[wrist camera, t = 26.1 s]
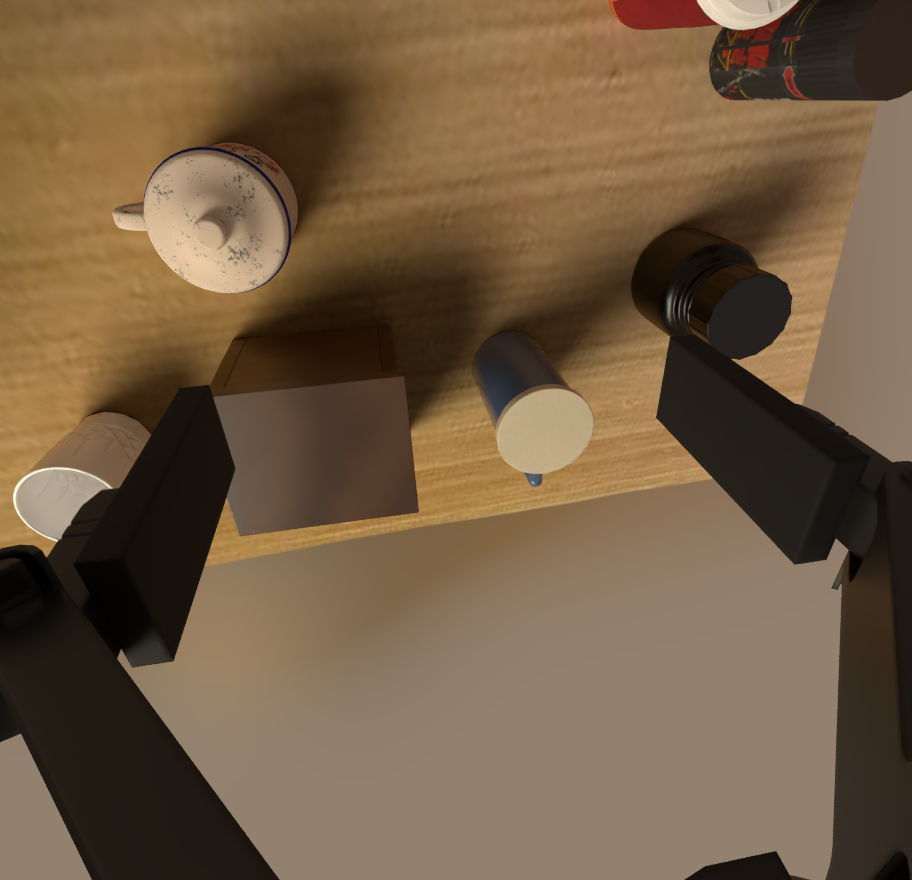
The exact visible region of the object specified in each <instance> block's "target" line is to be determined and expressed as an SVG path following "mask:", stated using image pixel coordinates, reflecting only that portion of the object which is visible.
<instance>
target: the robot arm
mask: <svg viewBox="0 0 912 880" xmlns="http://www.w3.org/2000/svg"><path fill="white" fill-rule="evenodd" d="M656 418H657V419H658V420H659V421H660V422H661V423H662V424H663V425H664V426H665V428H666V429H667V430H668V431H669V432H670V433H671V434H672V435H673V436H674V437H675V438H676V439H677V440H678V441H679V442H680V443H681V445H682V446H683V447H684V448H685V449H686V450H687V451H688V452H689V453H690V454H691V455H692V456H693V457H694V458H695V459H696V460H697V462H698V463H699V464H700V465H701V466H702V467H703V468H704V469H705V470H706V471H707V472H708V473H709V474H710V475H711V476H712V477H713V479H714V480H715V481H716V482H717V483H718V484H719V485H720V486H721V487H722V488H723V489H724V490H725V491H726V492H727V493H728V494H729V496H730V497H731V498H732V499H734V501H735V502H736V503H737V504H738V505H739V506H740V507H741V508H742V509H743V510H744V511H745V513H747V515H748V516H749V517H750V518H751V519H752V520H753V521H754V522H755V523H756V524H757V525H758V526H759V527H760V528H761V530H762V531H763V532H764V533H765V534H766V535H767V536H768V537H769V538H770V539H771V540H772V541H773V542H774V543H775V544H776V545H777V547H778V548H779V549H780V550H781V551H782V552H783V553H784V554H785V555H786V556H787V557H788V558H789V559H790V560H791V561H792V562H793V563H794V564H802V563H809V562H814V561H821V560H826V559H827V557H828V555H829V553H830V550H831V548H832V545H833V543H834V541H835V539H837V540H839V541H840V542H841V543H842V544H843V545H844V546H845V547H846V548H847V549H848V550H849V551H848V553H847V555H846V557H845V560H844V562H843V564H842V566H841V568H840V570H839V573H838V575H837V577H836V579H835V582H834V584H833V586H832V588H833V589H836V590H838V588H839V586H840V584H842V598H841V600H842V601H841V627H840V655H839V683H838V711H837V739H836V767H835V795H834V824H833V848H832V857H831V863H830V867H829V870H828V873H827V876H826V880H912V462H910V461H901V462H894V463H893V462H891V461H890V460H888V459H887V458H885V457H884V456H882V455H881V454H879V453H878V452H877V451H875V450H873V449H872V448H871V447H869V446H868V445H866V444H865V443H863V442H862V441H860V440H859V439H857V438H856V437H854V436H853V435H849V434H848V432H847V431H845V430H844V429H843V428H841V427H840V426H835V423H834V422H832V421H831V420H829V419H828V418H826V417H825V416H823V415H822V414H820V413H819V412H817V411H814V410H812V409H809V408H807V407H804V406H802V405H799V404H794V403H793V402H792V401H790V400H789V399H787V398H786V397H784V396H783V395H782V394H780V393H779V392H777V391H776V390H774V389H773V388H771V387H770V386H769V385H767V384H766V383H764V382H763V381H761V380H760V379H759V378H757V377H756V376H754V375H753V374H751V373H750V372H748V371H747V370H746V369H744V368H743V367H741V366H740V365H738V364H737V363H736V362H734V361H733V360H731V359H730V358H728V357H727V356H725V355H724V354H723V353H721V352H720V351H718V350H717V349H715V348H714V347H713V346H711V345H710V344H708V343H707V342H705V341H704V340H702V339H701V338H700V337H698V336H697V335H695V334H691V335H681V336H672V337H670V341H669V347H668V352H667V358H666V364H665V370H664V376H663V381H662V387H661V393H660V399H659V405H658V410H657V416H656ZM235 469H236V468H235V465H234V462H233V458H232V455H231V452H230V449H229V446H228V443H227V439H226V436H225V433H224V430H223V427H222V424H221V420H220V417H219V414H218V411H217V408H216V405H215V401H214V398H213V395H212V392H211V389H210V386H209V385H204V386H195V387H185V388H179V390H178V392H177V393H176V395H175V397H174V398H173V400H172V402H171V403H170V405H169V407H168V408H167V410H166V412H165V413H164V415H163V417H162V418H161V420H160V421H159V423H158V425H157V426H156V428H155V430H154V431H153V433H152V435H151V436H150V438H149V440H148V441H147V443H146V445H145V446H144V448H143V450H142V451H141V453H140V454H139V456H138V458H137V459H136V461H135V463H134V464H133V466H132V468H131V469H130V471H129V473H128V474H127V476H126V478H125V479H124V481H123V483H122V484H121V486H120V487H119V488H114V489H105V490H101V491H99V492H98V493H97V494H96V495H94V496H93V497H92V498H91V499H89V500H88V501H87V502H86V503H84V504H83V505H82V506H81V508H80V509H79V510H78V512H77V513H76V515H75V516H74V518H73V519H72V521H71V525H69V526H68V527H67V528H66V530H65V531H64V533H63V534H62V539H59V540H58V542H57V543H56V545H55V546H54V548H53V549H52V551H51V552H50V554H49V555H48V557H47V558H46V556H45V555H44V553H43V551H42V550H40V549H39V548H37V547H35V546H34V545H16V546H11V547H6V548H2V549H0V742H2V741H4V740H6V739H9V738H11V737H14V736H16V735H18V734H22V736H23V739H24V741H25V742H26V745H27V746H28V749H29V751H30V753H31V755H32V757H33V759H34V761H35V763H36V765H37V767H38V769H39V772H40V773H41V776H42V778H43V780H44V782H45V784H46V786H47V788H48V790H49V792H50V794H51V796H52V798H53V800H54V802H55V805H56V807H57V809H58V811H59V813H60V815H61V817H62V819H63V821H64V823H65V825H66V827H67V829H68V831H69V833H70V836H71V838H72V840H73V841H74V844H75V846H76V847H77V850H78V852H79V854H80V856H81V858H82V860H83V862H84V864H85V866H86V869H87V871H88V873H89V875H90V877H91V878H92V880H279V879H278V877H277V876H276V874H275V873H274V872H273V870H272V869H271V868H270V866H269V865H268V864H267V862H266V861H265V860H264V858H263V857H262V855H261V854H260V853H259V851H258V850H257V849H256V847H255V846H254V845H253V843H252V842H251V841H250V839H249V838H248V837H247V835H246V834H245V832H244V831H243V830H242V828H241V827H240V826H239V824H238V823H237V822H236V820H235V819H234V817H233V816H232V815H231V813H230V812H229V811H228V809H227V808H226V806H225V805H224V804H223V802H222V801H221V800H220V799H219V797H218V796H217V794H216V793H215V792H214V790H213V789H212V787H211V786H210V785H209V783H208V782H207V781H206V779H205V778H204V777H203V775H202V774H201V772H200V771H199V770H198V768H197V767H196V766H195V764H194V763H193V762H192V760H191V759H190V757H189V756H188V755H187V753H186V752H185V751H184V749H183V748H182V747H181V745H180V744H179V743H178V741H177V740H176V738H175V737H174V736H173V734H172V733H171V732H170V730H169V729H168V728H167V726H166V725H165V724H164V722H163V721H162V719H161V718H160V717H159V715H158V714H157V713H156V711H155V710H154V709H153V707H152V706H151V705H150V703H149V702H148V700H147V699H146V698H145V696H144V695H143V694H142V692H141V691H140V689H139V688H138V687H137V685H136V684H135V683H134V681H133V680H132V679H131V677H130V676H129V675H128V673H127V672H126V670H125V669H124V668H123V667H122V665H121V664H120V662H119V661H118V660H117V657H118V655H119V652H120V650H121V649H122V651H123V652H124V654H125V656H126V658H127V659H128V661H129V663H130V665H131V666H132V667H139V666H146V665H152V664H159V663H164V662H172V661H174V658H175V655H176V652H177V649H178V646H179V643H180V640H181V636H182V633H183V630H184V627H185V624H186V621H187V618H188V614H189V612H190V608H191V605H192V602H193V599H194V596H195V593H196V590H197V587H198V584H199V581H200V578H201V575H202V571H203V568H204V565H205V562H206V559H207V556H208V553H209V550H210V547H211V544H212V541H213V537H214V534H215V531H216V528H217V525H218V522H219V519H220V516H221V513H222V510H223V506H224V503H225V500H226V497H227V494H228V491H229V488H230V485H231V482H232V479H233V476H234V472H235ZM685 880H809V879H804V878H801V877H797V876H791V875H789V874H788V872H787V870H786V868H785V866H784V864H783V863H782V861H781V859H780V857H779V855H778V854H777V852H776V851H774V852H770V853H765V854H761V855H756V856H751V857H746V858H742V859H737V860H733V861H728V862H723V863H718V864H714V865H709V866H705V867H704V868H702V869H700V870H699V871H697V872H696V873H694V874H693V875H691V876H690V877H688V878H687V879H685Z"/></svg>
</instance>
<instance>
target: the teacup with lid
mask: <svg viewBox="0 0 912 880" xmlns="http://www.w3.org/2000/svg"><path fill="white" fill-rule="evenodd" d="M113 218H114V222H115V224H116V225H117V226H118V227H119V228H122V229H125V230H133V231H148V234H149V237H150V239H151V241H152V243H153V245H154V247H155V249H156V251H157V252H158V254H159V255H160V256H161V258H162V259H163V260H164V261H165V263H166V264H167V265H168V266H169V267H170V268H171V269H172V270H173V271H174V272H176V273H177V274H178V275H179V276H181V277H182V278H184V279H185V280H187V281H188V282H190V283H192V284H194V285H196V286H198V287H201V288H203V289H206V290H210V291H214V292H219V293H242V292H247V291H251V290H254V289H256V288H258V287H260V286H262V285H264V284H266V283H267V282H268V281H270V280H271V279H272V278H273V277H274V276H275V275H276V274H277V273H278V272H279V270H280V269H281V268H282V266H283V264H284V263H285V260H286V258H287V256H288V253H289V249H290V244H291V238H292V236H293V234H294V232H295V229H296V225H297V219H298V205H297V199H296V195H295V192H294V189H293V187H292V185H291V182H290V181H289V179H288V177H287V176H286V174H285V173H284V171H283V170H282V169H281V168H280V166H279V165H278V164H277V163H276V162H275V161H273V160H272V159H271V158H270V157H269V156H267V155H266V154H264V153H263V152H261V151H259V150H257V149H255V148H253V147H250V146H247V145H243V144H238V143H221V144H216V145H212V146H209V147H195V148H189V149H186V150H182V151H180V152H177V153H175V154H173V155H171V156H170V157H168V158H167V159H165V160H164V161H163V162H162V163H161V164H160V165H159V166H158V167H157V168H156V170H155V171H154V172H153V174H152V175H151V177H150V179H149V181H148V184H147V187H146V190H145V195H144V202H140V203H133V204H127V205H123V206H120V207H117V208H116V209H114V210H113Z"/></svg>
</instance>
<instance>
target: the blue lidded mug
mask: <svg viewBox="0 0 912 880" xmlns="http://www.w3.org/2000/svg"><path fill="white" fill-rule="evenodd" d="M472 373H473V378H474V381H475V383H476V385H477V388H478V390H479V393H480V395H481V397H482V400H483V402H484V404H485V407H486V409H487V411H488V414H489V416H490V419H491V421H492V423H493V426H494V428H495V430H496V431H495V437H496V443H497V446H498V449H499V451H500V454H501V455H502V457H503V459H504V460H505V461H506V462H507V463H508V464H509V465H510V466H512V467H513V468H515V469H517V470H519V471H522V472H525V475H526V477H527V479H528V481H529V483H530V485H532V486H534V487H537V486H539V485H540V484H541V483H542V474H544V473H549V472H553V471H556V470H559V469H561V468H563V467H565V466H567V465H569V464H570V463H572V462H573V461H574V460H575V459H577V458H578V457H579V456H580V455H581V454H582V452H583V451H584V450H585V449H586V447H587V445H588V444H589V442H590V439H591V437H592V434H593V429H594V418H593V413H592V410H591V408H590V406H589V405H588V403H587V402H586V400H585V399H584V398H583V397H582V396H581V395H580V394H579V393H578V392H577V391H575V390H573V389H571V388H570V387H569V385H568V384H567V382H566V381H565V380H564V378H563V377H562V376H561V374H560V373H559V372H558V370H557V369H556V368H555V366H554V365H553V364H552V362H551V361H550V360H549V358H548V357H547V356H546V354H545V353H544V352H543V350H542V349H541V347H540V346H539V345H538V343H537V342H536V341H535V340H534V339H533V338H531V337H530V336H528V335H526V334H523V333H520V332H504V333H500V334H497V335H495V336H493V337H491V338H490V339H488V340H487V341H486V342H485V343H484V344H483V345H482V346H481V347H480V348H479V350H478V351H477V353H476V355H475V357H474V360H473V365H472Z"/></svg>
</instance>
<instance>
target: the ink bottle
mask: <svg viewBox="0 0 912 880" xmlns="http://www.w3.org/2000/svg"><path fill="white" fill-rule="evenodd" d="M787 286H788V285H787V283H785V282H783V281H782V280H780V279H779V278H778V277H777V276H776V275H773V274H771V273H768V272H766V271H764V270H761V269H759V268H758V266H757V263H756V261H755V259H754V257H753V256H752V255H751V253H750V252H749V251H748V250H747V249H745V248H744V247H742V246H740V245H738V244H736V243H733V242H731V241H729V240H727V239H724V238H722V237H719V236H716V235H714V234H711V233H707V232H705V231H702V230H698V229H692V228H685V229H678V230H674V231H671V232H669V233H667V234H664V235H663V236H661V237H659V238H658V239H656V240H655V241H653V242H652V243H651V244H650V245H649V246H648V247H647V248H646V249H645V250H644V252H643V253H642V254H641V256H640V258H639V259H638V261H637V264H636V266H635V269H634V272H633V276H632V282H631V292H632V298H633V302H634V304H635V306H636V308H637V310H638V311H639V312H640V314H641V315H642V316H644V317H645V318H646V319H647V320H649V321H650V322H651V323H653V324H654V325H655V326H657V327H658V328H659V329H661V330H662V331H663V332H665V333H666V334H667V335H668V336H670V337H672V336H681V335H691V334H695V335H697V336H698V337H700V338H701V339H702V340H704V341H705V342H707V343H708V344H710V345H711V346H713V347H714V348H715V349H717V350H718V351H720V352H721V353H723V354H724V355H725V356H727V357H728V358H730V359H738V360H740V359H743V358H746V357H749V356H752V355H756V354H758V353H759V352H760V351H762V350H763V349H765V348H766V347H767V346H770V345H771V344H772V343H773V341H774V340H775V339H776V338H777V337H778V335H779V334H780V333H781V332H782V331H783V330H784V327H785V325H786V322H787V320H788V318H789V316H790V314H791V301H792V295H791V294H790V291H789V289H788V287H787Z"/></svg>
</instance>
